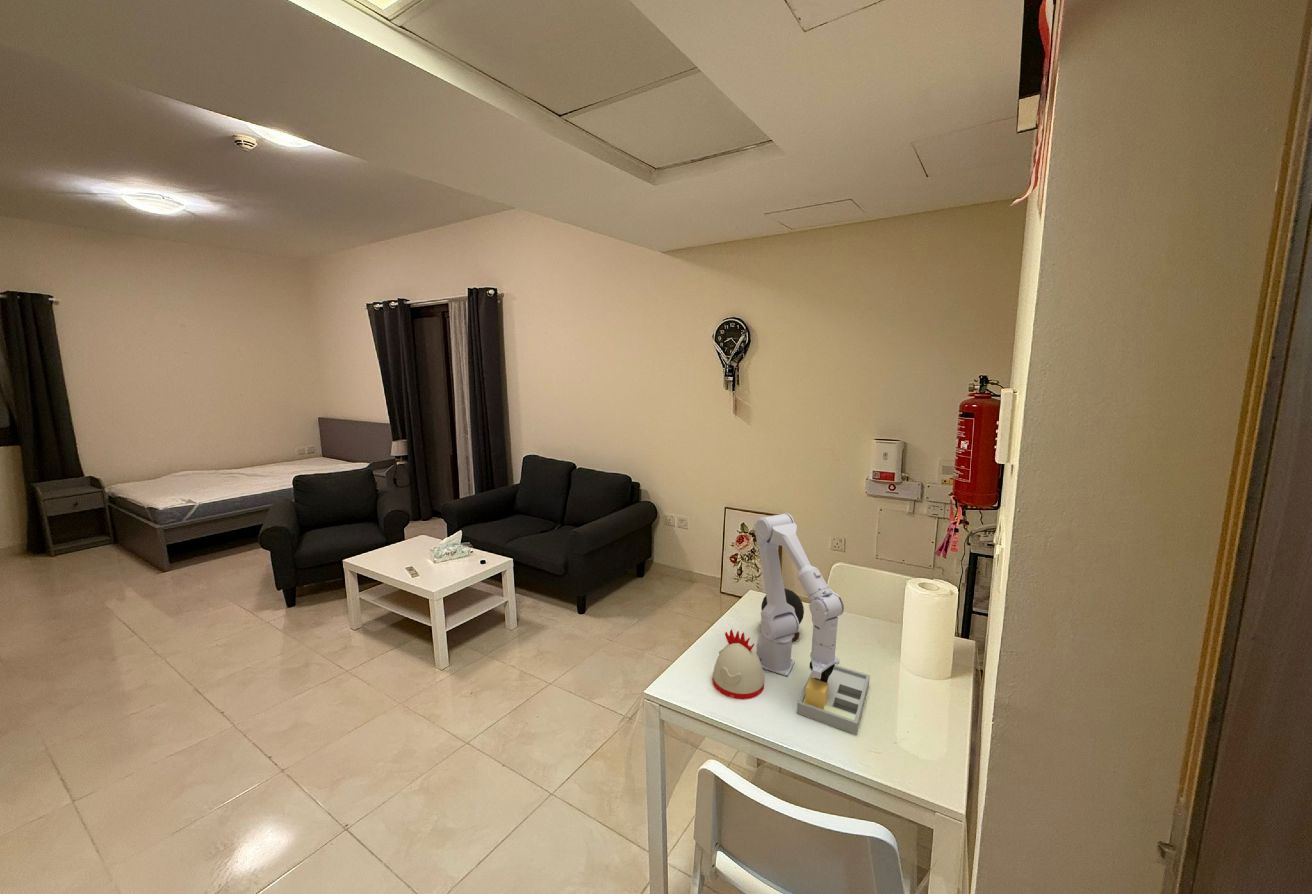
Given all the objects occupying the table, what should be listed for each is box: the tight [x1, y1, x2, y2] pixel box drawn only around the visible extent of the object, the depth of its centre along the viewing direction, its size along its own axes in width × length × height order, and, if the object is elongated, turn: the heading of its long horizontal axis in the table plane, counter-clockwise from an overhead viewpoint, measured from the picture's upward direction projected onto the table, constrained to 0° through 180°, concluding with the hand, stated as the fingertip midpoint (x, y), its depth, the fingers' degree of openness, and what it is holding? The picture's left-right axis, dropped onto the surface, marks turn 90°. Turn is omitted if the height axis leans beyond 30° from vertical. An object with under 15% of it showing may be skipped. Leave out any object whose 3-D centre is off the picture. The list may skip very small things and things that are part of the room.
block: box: [805, 678, 828, 710], centre depth 125 cm, size 4×4×4 cm
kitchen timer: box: [712, 628, 765, 700], centre depth 134 cm, size 14×14×15 cm
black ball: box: [761, 587, 805, 644], centre depth 158 cm, size 13×13×15 cm
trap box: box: [796, 664, 871, 736], centre depth 129 cm, size 14×21×3 cm, turn 150°
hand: (820, 688), depth 128 cm, fingers closed
